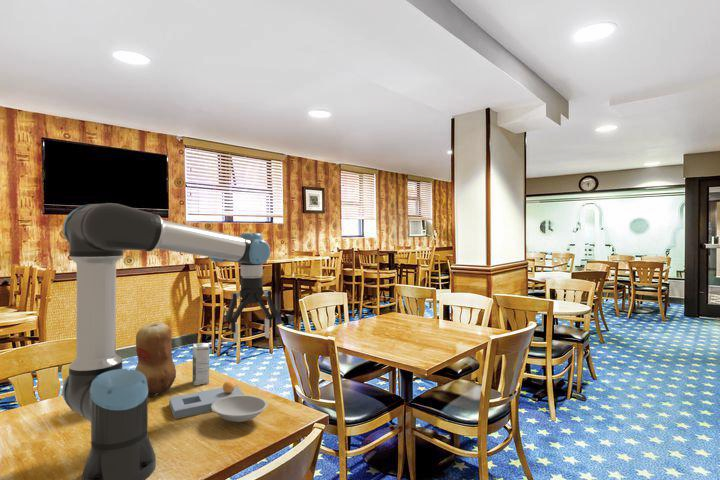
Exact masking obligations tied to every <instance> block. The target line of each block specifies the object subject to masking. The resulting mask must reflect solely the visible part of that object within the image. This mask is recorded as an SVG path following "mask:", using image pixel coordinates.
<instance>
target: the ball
mask: <svg viewBox="0 0 720 480" xmlns="http://www.w3.org/2000/svg"><path fill="white" fill-rule="evenodd" d="M235 385H236V384H235V383H234V381H233V380H227V381H225V382H224V383H223V385H222V387H223V390H224V392H226V393H231V392H233V391H234V389H235Z"/></svg>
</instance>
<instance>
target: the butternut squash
mask: <svg viewBox="0 0 720 480" xmlns="http://www.w3.org/2000/svg"><path fill="white" fill-rule="evenodd" d="M172 344H173V340H172V330H171V327H170V326H169V325H168V324H167V323H164V322H154V323H150V324H146V325H144V326H141V328H140V329H138V330H137V332H136V337H135V351H136V355H137V365H136V366H135V369H134V370H137V371H139V372H141V373H143V374H144V375H145V377H146V379H147V386H148V396H157V395H158V394H160V393H165V392H166V391H168V390H169V389H170V388H172V385H173V383H174V382H175V379H176V378H177V377H176V376H177V370H176V367H175V366H176V365H175V363H174V360H173V348H172V346H173V345H172Z"/></svg>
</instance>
